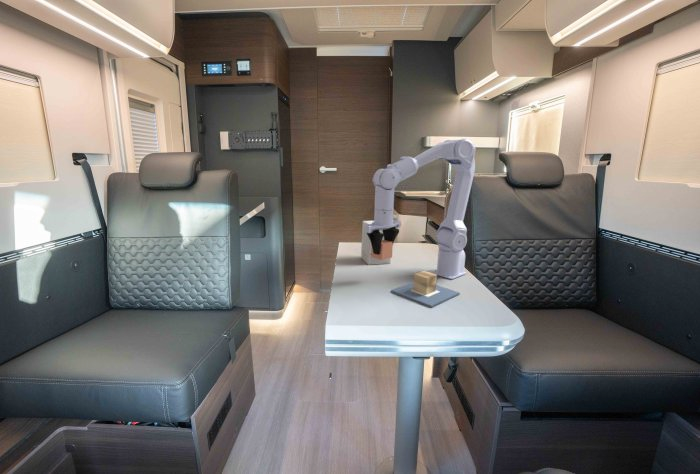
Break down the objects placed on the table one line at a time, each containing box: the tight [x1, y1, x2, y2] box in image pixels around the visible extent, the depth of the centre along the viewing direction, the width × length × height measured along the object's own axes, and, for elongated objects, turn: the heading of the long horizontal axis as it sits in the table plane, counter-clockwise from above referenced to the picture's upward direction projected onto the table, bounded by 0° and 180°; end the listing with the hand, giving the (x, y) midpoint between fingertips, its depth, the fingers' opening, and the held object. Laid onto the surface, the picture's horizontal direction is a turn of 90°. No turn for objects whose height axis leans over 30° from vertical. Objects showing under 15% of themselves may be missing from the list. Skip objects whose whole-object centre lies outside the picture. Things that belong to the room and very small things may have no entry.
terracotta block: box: [371, 240, 394, 260], centre depth 105 cm, size 5×5×5 cm
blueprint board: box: [390, 281, 461, 309], centre depth 98 cm, size 14×14×1 cm
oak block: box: [413, 270, 438, 295], centre depth 97 cm, size 5×5×5 cm
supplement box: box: [360, 220, 392, 266], centre depth 126 cm, size 9×9×15 cm
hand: (382, 252), depth 105 cm, fingers closed on terracotta block, 5 cm apart
